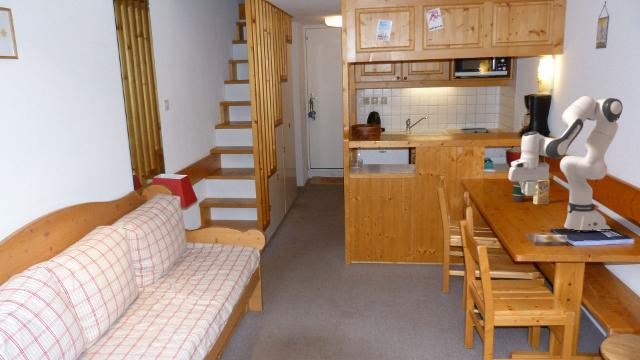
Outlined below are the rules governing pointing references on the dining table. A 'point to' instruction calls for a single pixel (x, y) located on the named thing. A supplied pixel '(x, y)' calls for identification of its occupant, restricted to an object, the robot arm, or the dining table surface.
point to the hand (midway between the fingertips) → (528, 188)
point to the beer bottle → (517, 192)
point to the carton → (529, 188)
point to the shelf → (547, 239)
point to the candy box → (541, 192)
